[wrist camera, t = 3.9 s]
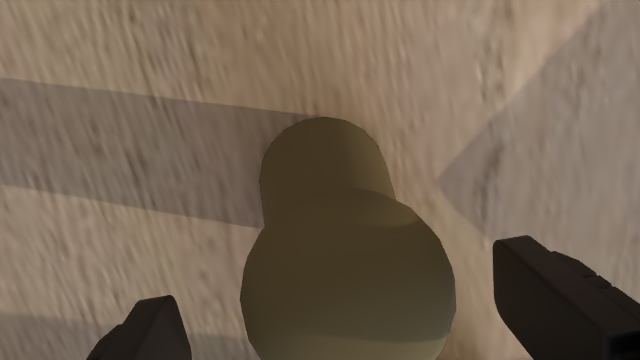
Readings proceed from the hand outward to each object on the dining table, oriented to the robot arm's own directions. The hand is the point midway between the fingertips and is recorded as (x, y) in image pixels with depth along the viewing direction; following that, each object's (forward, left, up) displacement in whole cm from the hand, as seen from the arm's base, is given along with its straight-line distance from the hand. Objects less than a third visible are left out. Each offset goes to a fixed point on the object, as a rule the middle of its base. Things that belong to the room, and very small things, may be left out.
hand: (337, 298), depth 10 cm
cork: (0, 0, -10) cm, 10 cm away
